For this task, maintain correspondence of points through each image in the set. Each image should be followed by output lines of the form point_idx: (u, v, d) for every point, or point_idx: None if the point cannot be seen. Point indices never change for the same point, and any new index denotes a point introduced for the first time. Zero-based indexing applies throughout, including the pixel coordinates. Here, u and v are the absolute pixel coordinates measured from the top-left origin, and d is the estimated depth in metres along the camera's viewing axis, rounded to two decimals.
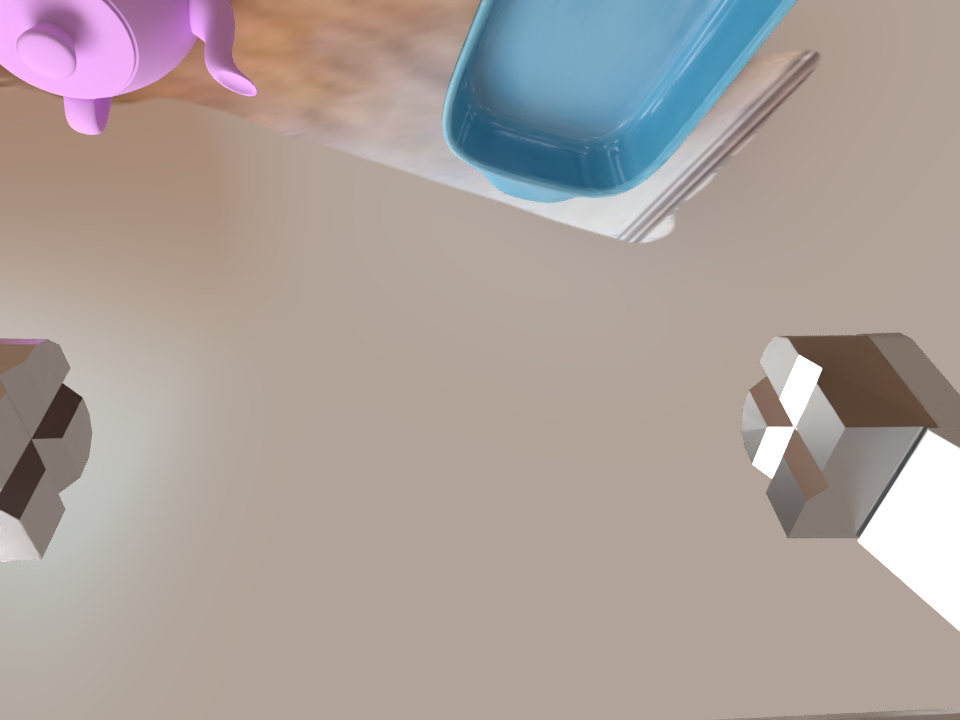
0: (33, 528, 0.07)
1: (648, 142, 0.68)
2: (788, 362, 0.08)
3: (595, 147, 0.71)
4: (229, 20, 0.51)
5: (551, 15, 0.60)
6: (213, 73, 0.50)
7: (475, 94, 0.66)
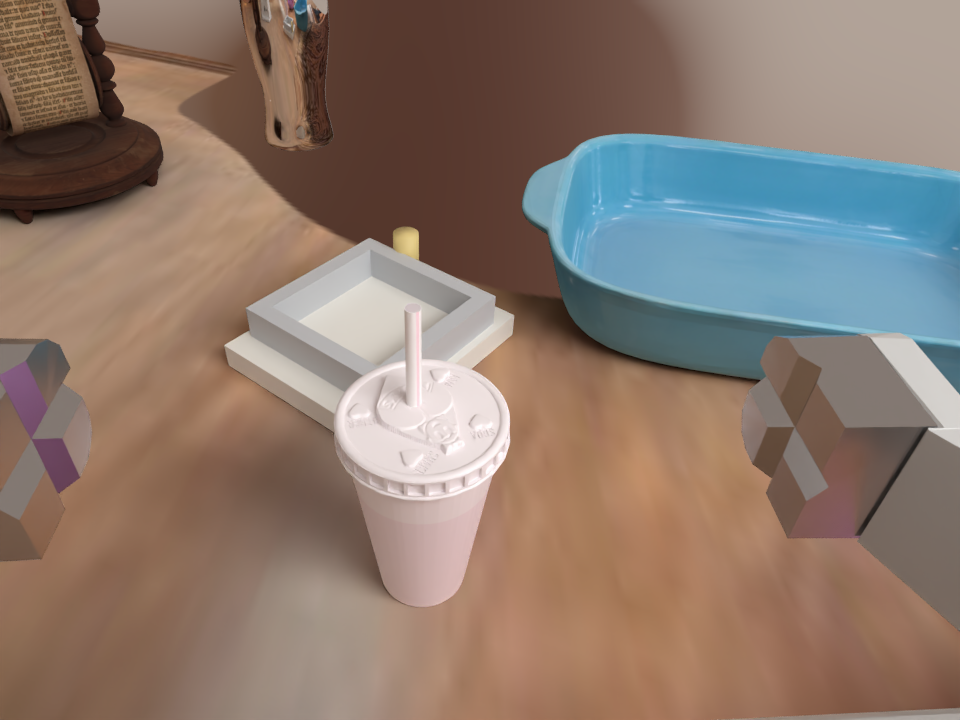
0: (33, 528, 0.07)
1: (926, 205, 0.53)
2: (789, 362, 0.08)
3: None
4: None
5: None
6: None
7: None
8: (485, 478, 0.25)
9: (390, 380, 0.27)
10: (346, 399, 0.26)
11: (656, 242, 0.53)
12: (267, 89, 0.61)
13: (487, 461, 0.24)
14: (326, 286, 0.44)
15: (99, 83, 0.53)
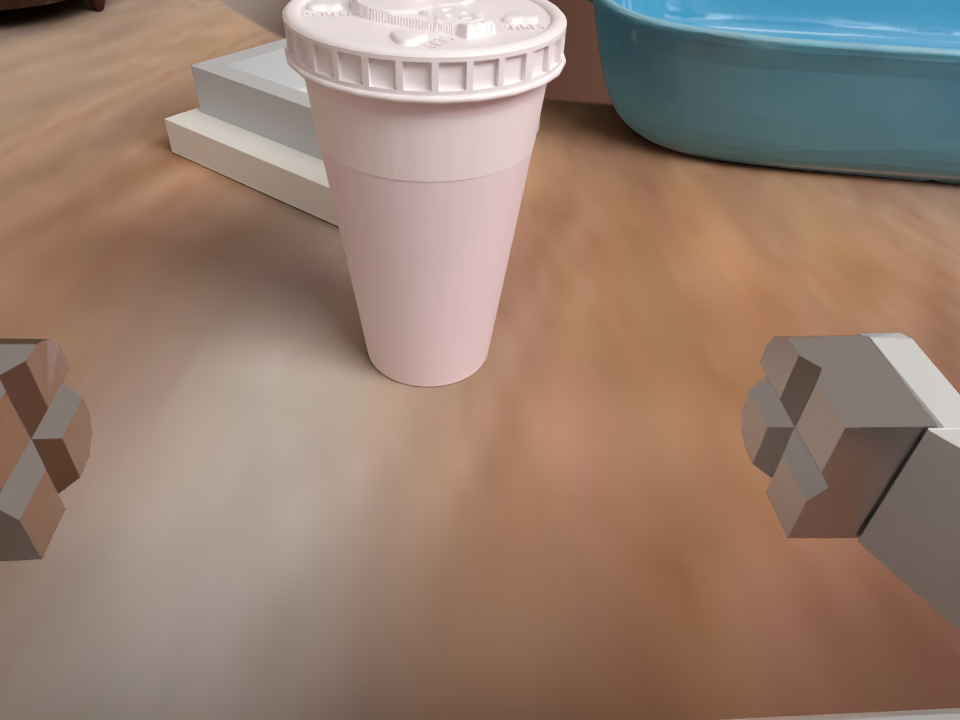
0: (33, 528, 0.07)
1: None
2: (788, 362, 0.08)
3: None
4: None
5: None
6: None
7: None
8: (531, 85, 0.15)
9: None
10: None
11: None
12: None
13: (535, 45, 0.15)
14: None
15: None
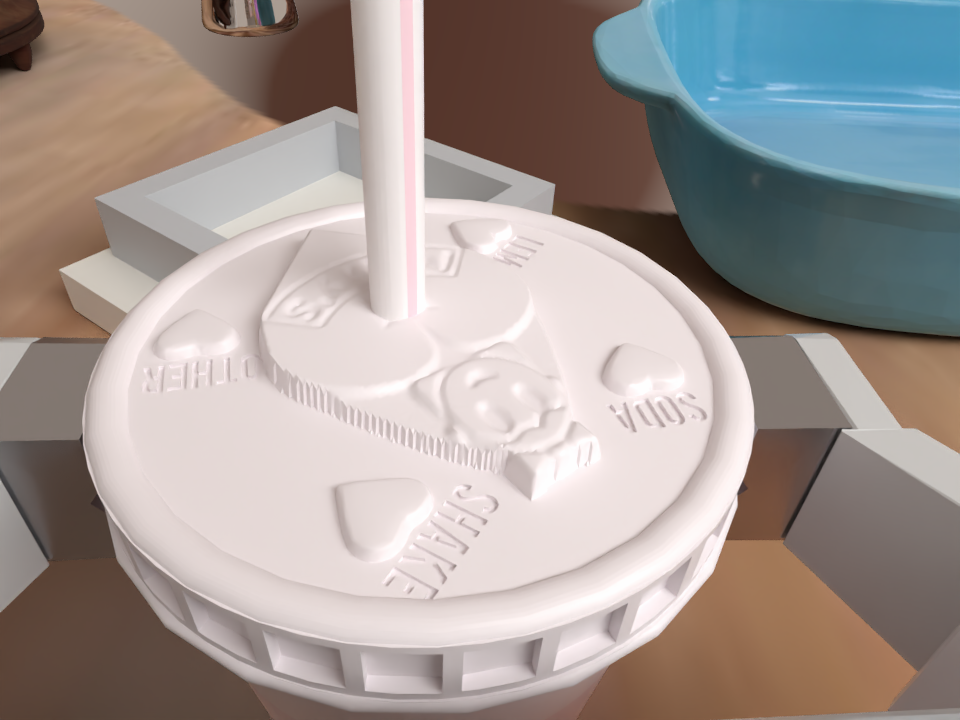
0: None
1: None
2: None
3: None
4: None
5: None
6: None
7: None
8: (688, 592, 0.06)
9: (321, 243, 0.08)
10: (161, 298, 0.07)
11: (774, 146, 0.34)
12: None
13: (712, 527, 0.06)
14: (256, 174, 0.25)
15: None
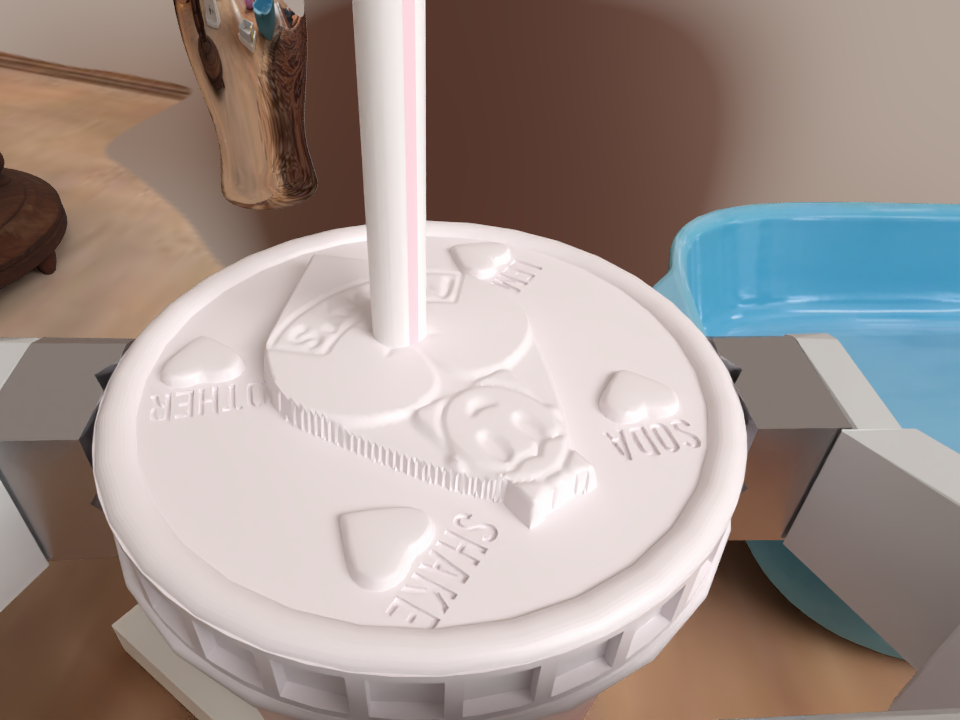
0: None
1: None
2: None
3: None
4: None
5: None
6: None
7: None
8: (682, 617, 0.06)
9: (324, 268, 0.08)
10: (168, 324, 0.08)
11: None
12: (220, 125, 0.42)
13: (705, 555, 0.06)
14: None
15: None
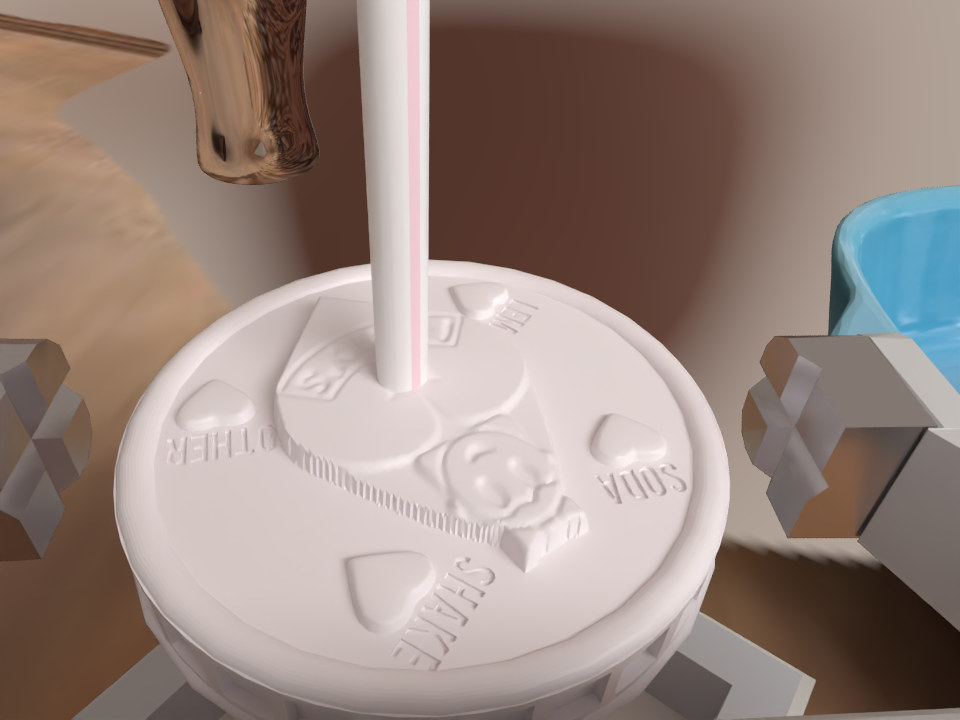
0: (33, 528, 0.07)
1: None
2: (787, 361, 0.08)
3: None
4: None
5: None
6: None
7: None
8: (668, 653, 0.07)
9: (330, 311, 0.09)
10: (182, 367, 0.08)
11: None
12: (193, 72, 0.33)
13: (688, 599, 0.06)
14: None
15: None
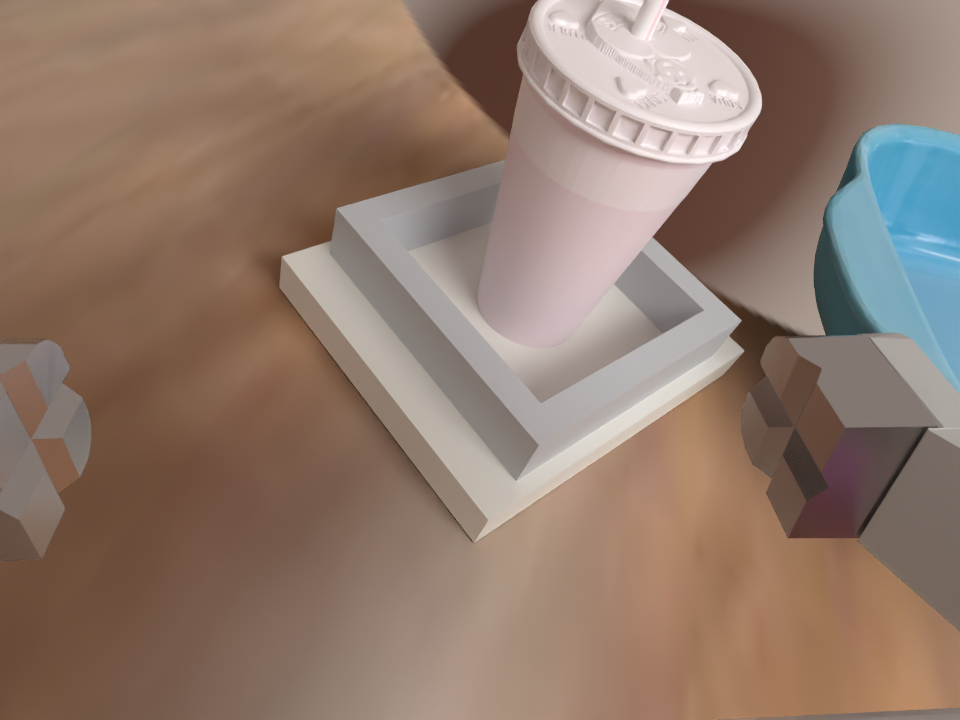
0: (33, 528, 0.07)
1: None
2: (787, 361, 0.08)
3: None
4: None
5: None
6: None
7: None
8: (713, 159, 0.17)
9: (611, 2, 0.19)
10: (549, 0, 0.18)
11: None
12: None
13: (731, 130, 0.17)
14: (471, 207, 0.26)
15: None
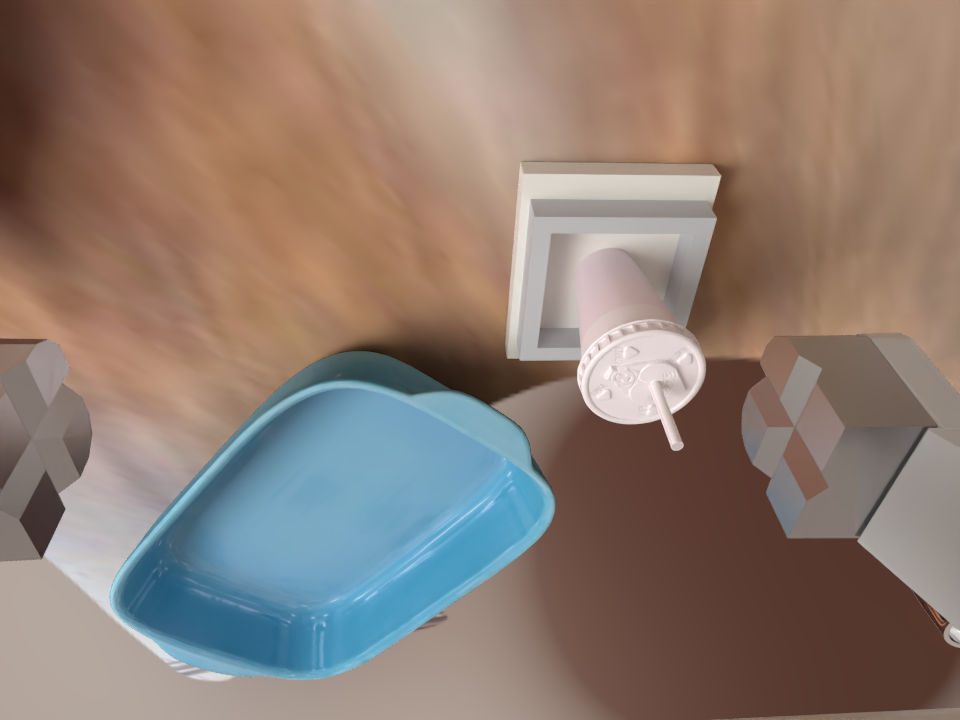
0: (33, 528, 0.07)
1: (355, 631, 0.63)
2: (787, 362, 0.08)
3: (302, 616, 0.65)
4: None
5: (269, 502, 0.56)
6: None
7: (172, 549, 0.58)
8: (580, 364, 0.36)
9: (680, 389, 0.36)
10: (700, 362, 0.36)
11: (453, 464, 0.55)
12: None
13: (583, 375, 0.36)
14: (674, 288, 0.43)
15: None
